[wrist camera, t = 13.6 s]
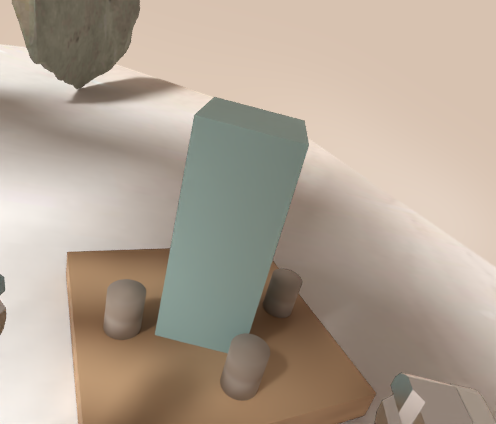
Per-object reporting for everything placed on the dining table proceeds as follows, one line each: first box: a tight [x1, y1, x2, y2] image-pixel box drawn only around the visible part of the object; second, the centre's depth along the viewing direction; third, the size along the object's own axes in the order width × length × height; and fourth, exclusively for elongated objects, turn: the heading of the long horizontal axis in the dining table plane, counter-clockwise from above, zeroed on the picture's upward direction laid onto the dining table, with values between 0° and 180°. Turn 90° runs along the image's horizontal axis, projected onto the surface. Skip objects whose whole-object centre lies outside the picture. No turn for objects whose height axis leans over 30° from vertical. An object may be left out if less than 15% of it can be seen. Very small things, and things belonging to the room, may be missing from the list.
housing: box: [66, 248, 376, 424], centre depth 19 cm, size 12×12×4 cm
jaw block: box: [155, 97, 309, 353], centre depth 17 cm, size 4×4×10 cm
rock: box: [12, 0, 140, 89], centre depth 54 cm, size 27×6×20 cm, turn 174°
